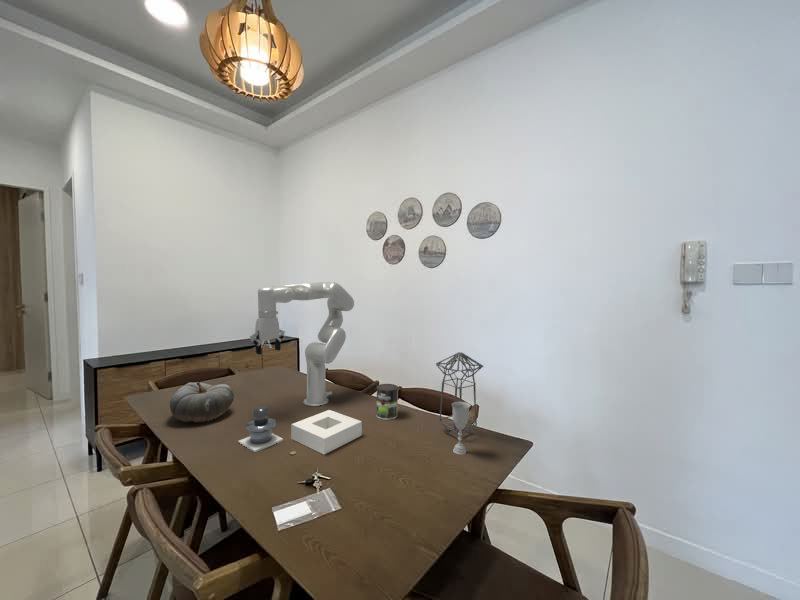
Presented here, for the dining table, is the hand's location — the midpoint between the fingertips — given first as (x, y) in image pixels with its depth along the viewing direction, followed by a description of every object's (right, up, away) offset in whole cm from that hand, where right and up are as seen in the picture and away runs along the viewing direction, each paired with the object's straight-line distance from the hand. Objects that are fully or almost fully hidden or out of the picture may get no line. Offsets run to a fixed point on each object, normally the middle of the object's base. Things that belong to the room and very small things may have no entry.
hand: (268, 352), depth 154 cm
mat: (+5, -32, -21) cm, 39 cm away
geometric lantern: (+85, -33, -9) cm, 92 cm away
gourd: (-31, -31, +2) cm, 44 cm away
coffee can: (+54, -32, +8) cm, 63 cm away
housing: (+30, -33, -16) cm, 47 cm away
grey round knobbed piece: (+5, -32, -21) cm, 38 cm away
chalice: (+83, -34, -25) cm, 93 cm away
